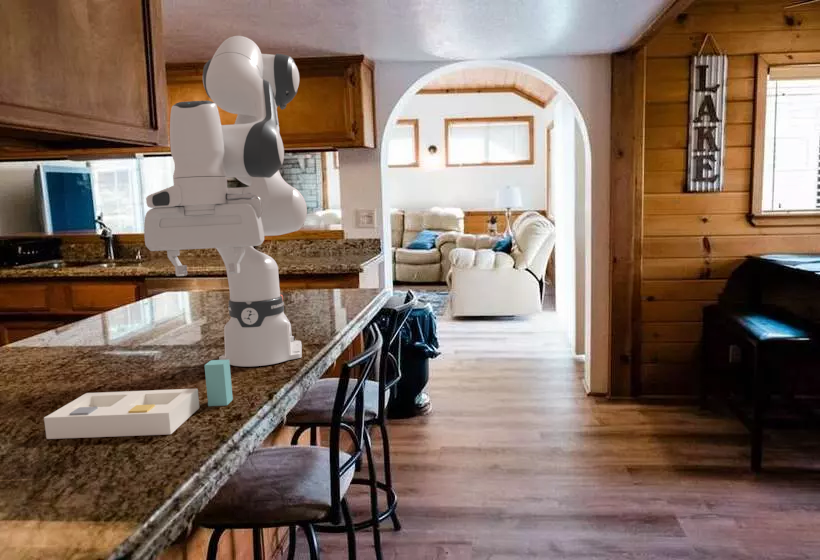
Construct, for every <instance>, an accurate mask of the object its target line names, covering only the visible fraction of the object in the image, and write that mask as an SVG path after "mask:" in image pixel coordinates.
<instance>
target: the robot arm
mask: <svg viewBox="0 0 820 560" xmlns="http://www.w3.org/2000/svg"><path fill="white" fill-rule="evenodd" d="M202 83H203V88H204V90H205V93H206V95H207V97H208V98H210V100H206V99H205V100H191V101H181V102H180V101H179V102H176V103H175V104H173V105H172V106H171V109H170V114H169V116H170V119H169V143H170V145H169V146H170V153H171V157H172V160H173V162H174V163H173V165H174V169H173V170H174V171H173V176H172V177H173V185H171V186H169V187H167V188H165V189H161V190H159V191H155V192H154V193H151V194H148V195H147V196H146V201H145V203H146V206H147V207H148V208H150V209H149V210H148V211H147V212H146V213H145V216H144V221H143V223H144V224H143V225H144V226H143V228H144V229H143V231H144V232H143V235H144V243H145V244H144V245H145V247H146V248H147V249H148V250H149V251H150V252H156V251H157V252H159V251H161V252H163V251H166V255H167V259H168V260H169V262H171V264H172V265H173V266H174V269H175V270H174V272H175V276H176V277H184V276H185V277H186V276H187V275H188V265H187V264H182V263H181V261H180V259H179V257H178V256H180V255H181V254H180V251H182V250H199V249H216V250H217V252H218V254H219V256H220V257H221V259H222V261H223V264H224V266H225V270H226V271H225V272H226V276H227V282H228V289H229V300H228V305H227V306H228V316H230V319H229V320H228V321H227V322H226V323H225V325H224V328H223V330H224V333H223V334H224V337H223V338H224V353H223V354H222V355H219V357H218V360H229V362H230V366H234V367H259V366H260V367H261V366H269V365H275V364H279V363H283V362H287V361H290V360H296V359H297V360H298V359H300V358H302V355H303V354H302V353H303V352H302V351H303V350H302V349H303V344H302V340H298V339H297V340H296V339H295V336H294V335H292V324H291V322H290V319H288V317H287V315H286V314H285V312H284V311H285V306H284V303H285V302H284V295H283V294H281V288H280V278H279V275H280V274H279V266H278V264H277V262H276V260H275V259H274V258H273V257H271V256H270V255H269V254H266V253H264V252H262V251H259V250H257V249H256V248H254V247H257V246H261V245H262V244H263V242H264V241H265V237H273V236H281V235H286V234H290V233H293V232H297V231H299V230H300V229H301V228H302V227H303V226H304V224H305V222H306V219H307V215H308V207H307V206H308V205H307V202H306V199H305V197H304V196H303V195H302V193H301V191H300V190H298V189H297V188H295V187H293V186H292V185H291V184H289V183H288V182H286V180H285V179H284V178H283V177H282V175H281V174H282V173H280V169H281V168H282V167H283V164H284V159H285V147H284V143H283V139H282V136H281V134H280V126H279V125H280V123H279V118H278V107H279V108H280V109H281V110H285V109H286V107H287V104H289V103H290V102H291V101H293V99H294V98H295V97H296V95H297V93H298V88H299V85H300V72H299V69H298V66H297V65H296V62H295V60H294V58H292V57H291V56H290V55H288V54H282V53H275V54H272V53H271V54H269V53H262V52H261V49H260V47H259V46H258V44H257V43H256V42H255V41H253V39H251V38H249V37H246V36H242V35H234V36H230V37H228V38H226V39H225V40H224V41H223V42H222V43H221V44H220V45H219V46H218V47H217V49H216V51H215V52H214V54H213V56H212V58H210V59H208V61H207V62H206V63H205V64H204V65H203V71H202ZM219 108H220V109H221V110H222V111H225V112H227V113H230V114H233V115H237V116H236V118H235V122H234V123H233V124H222V121H221V117H220V116H221V115H220V112H219ZM229 178H236V179H237V181H239V182H240V183H242V184H244V185H246V186H244V187H228V181H227V180H228V179H229Z"/></svg>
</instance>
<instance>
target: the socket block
mask: <svg viewBox="0 0 820 560" xmlns="http://www.w3.org/2000/svg"><path fill="white" fill-rule="evenodd" d="M199 399H200V398H199V390H198V388H183V389H182V388H180V389H179V388H178V389H154V390H130V391H129V390H128V391H127V390H125V391H104V392H86V393H84V394H82V395H81V396H78V397H77V398H76V399H74V400H72V401H70V402H68V403H67V404H65V405H63V406H62V407H60V408H57V410H54V411H53V412H51V413H50V414H48V415H46V416H44V417H43V422H44V429H45V437H46V440H57V439H80V438H84V439H85V438H106V437H107V438H108V437H109V438H110V437H113V438H114V437H135V436H139V437H140V436H160V435H166V436H167V435H172V434H173V433H174V432H176V430H177V429H178V428H180V426H181V425H183V424H185V422H186V421H187V420H188V419H189V418H190V417H192V415H193V414H195V413H196V412H197V411H198V410H199V409H200V400H199Z"/></svg>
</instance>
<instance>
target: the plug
mask: <svg viewBox="0 0 820 560" xmlns="http://www.w3.org/2000/svg"><path fill="white" fill-rule="evenodd" d="M203 367H204V375H205V386H206V396H207V406H208V407H218V406H219V407H221V406H224V407H225V406H228V405H229V404H230V403H231V402H232V401H233V400H234V397H233V387H232V374H231V365H230V362H229V360H219V359H211V360H210V361H208V362H207V363H205V364H204V366H203Z"/></svg>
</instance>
